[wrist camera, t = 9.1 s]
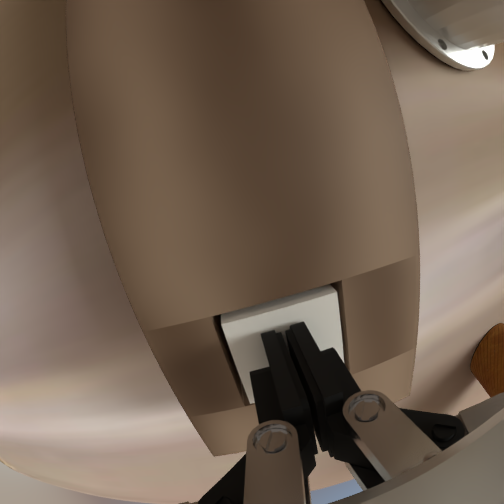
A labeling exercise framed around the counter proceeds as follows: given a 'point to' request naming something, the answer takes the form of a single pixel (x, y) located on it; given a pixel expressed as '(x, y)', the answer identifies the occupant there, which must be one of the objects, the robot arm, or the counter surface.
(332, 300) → the white peg
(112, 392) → the counter surface
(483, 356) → the disposable coffee cup
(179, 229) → the walnut block
